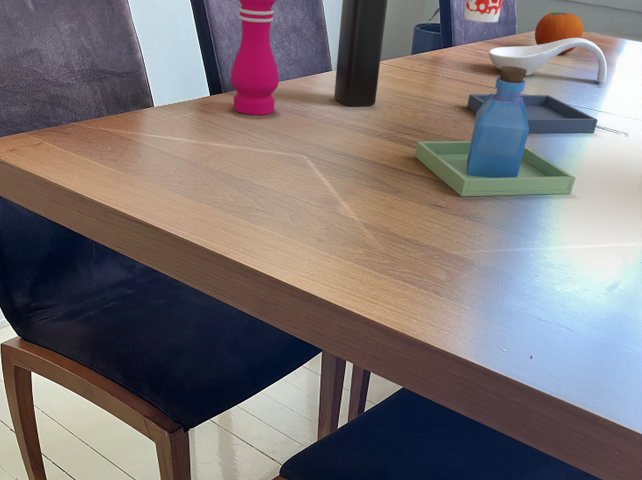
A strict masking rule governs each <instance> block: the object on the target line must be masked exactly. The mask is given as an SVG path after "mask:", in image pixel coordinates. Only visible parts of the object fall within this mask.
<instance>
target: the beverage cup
mask: <svg viewBox="0 0 642 480" xmlns="http://www.w3.org/2000/svg"><path fill="white" fill-rule="evenodd" d="M503 2H504V0H465V4H464V5H465V6H464V15H463V18H464V19H465V20H468V21H472V22H480V23H497V22H498V21H499V18H500V15H501V9H502V6H503Z"/></svg>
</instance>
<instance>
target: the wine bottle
mask: <svg viewBox="0 0 642 480" xmlns="http://www.w3.org/2000/svg"><path fill="white" fill-rule="evenodd" d="M388 1H389V0H342V1H341V2H342V4H341V15H340V25H339V38H338V47H337V49H338V50H337V60H336V69H335V70H336V71H335V72H336V73H335V81H334V82H335V83H334V94H333V97H334V99H335V100H336V101H338V102H339V103H341V104H342V105H344V106H346V107H371V106H374V105H375V104H376V99H377V91H378V84H379V83H378V82H379V74H380V66H381V58H382V49H383V42H384V32H385V26H386V17H387V9H388V8H387V7H388Z"/></svg>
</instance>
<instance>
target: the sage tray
mask: <svg viewBox="0 0 642 480" xmlns="http://www.w3.org/2000/svg"><path fill="white" fill-rule="evenodd" d="M470 144H471V140H468V141H467V140H465V141H463V140H461V141H457V140H456V141H455V140H453V141H449V140H448V141H417V142H416V147H415V153H414V158H416V159H417V160H418V161H419V162H420V163H421V164H423V165H424V166H425V167H426V169H427V168H428V169H429V170H430V171H431V172H432V173H433V174H435V175H436V176H437V177H438V178H439V179H440V180H442V182H444V183H445V184H446V185H447V186H449V188H451V189H452V190H453V191H454V192H455V193H457V194H458V195H459V196H460V197H486V196H487V197H488V196H489V197H490V196H491V197H492V196H493V197H495V196H527V195H528V196H530V195H531V196H532V195H535V196H536V195H569V194H570V195H571V194H572V191H573V188H574V184H575V181H576V177H575V176H573V175H572V174H571V173H569V172H568V171H565V170H564V169H563V168H561V167H560V166H558V165H556V164H554V163H553V162H551V161H550V160H548V159H546V158H545V157H544V156H542V155H540V154H539V153H537V152H535V151H534V150H533V149H531V148H529V147H528V146H526V145H525V148H524V152H523V156H522V160H521V164H520V168H519V172H518V176H517V177H510V178H487V177H479V176H471V175H467V159H468V154H469V149H470Z"/></svg>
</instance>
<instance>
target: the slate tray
mask: <svg viewBox="0 0 642 480" xmlns="http://www.w3.org/2000/svg"><path fill="white" fill-rule="evenodd" d="M489 95H490V94H481V93H480V94H476V93H475V94H472V93H471V94H469V96H468V100H467V105H466V107H467V108H468V109H470V110H471V111H473V112H474V113H476V114H477V111H478V109H479V108H480V107H481V105H482V104H483V103H484V101H485V100H486V99H487V97H488V96H489ZM520 97H522V98H523V101H524V105H525V110H526V116H527V121H528V127H529V132H528V134H594V133H595V131H596V128H597V124H598V121H599V120H598V118H595V117H593V116H591V115H589V114H588V113H586V112H584V111H581V110H579V109H577V108H576V107H574V106H571V105H570V104H567V103H565V102H564V101H561V100H559V99H557V98H555V97H554V96H551V95H548V94H544V95H543V94H520Z"/></svg>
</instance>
